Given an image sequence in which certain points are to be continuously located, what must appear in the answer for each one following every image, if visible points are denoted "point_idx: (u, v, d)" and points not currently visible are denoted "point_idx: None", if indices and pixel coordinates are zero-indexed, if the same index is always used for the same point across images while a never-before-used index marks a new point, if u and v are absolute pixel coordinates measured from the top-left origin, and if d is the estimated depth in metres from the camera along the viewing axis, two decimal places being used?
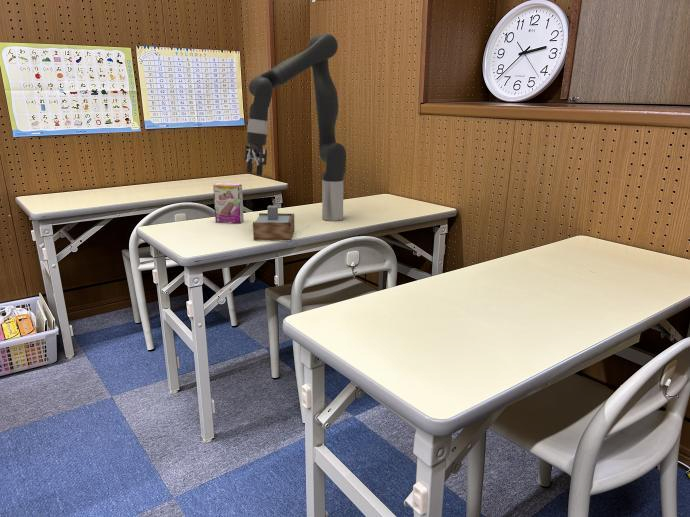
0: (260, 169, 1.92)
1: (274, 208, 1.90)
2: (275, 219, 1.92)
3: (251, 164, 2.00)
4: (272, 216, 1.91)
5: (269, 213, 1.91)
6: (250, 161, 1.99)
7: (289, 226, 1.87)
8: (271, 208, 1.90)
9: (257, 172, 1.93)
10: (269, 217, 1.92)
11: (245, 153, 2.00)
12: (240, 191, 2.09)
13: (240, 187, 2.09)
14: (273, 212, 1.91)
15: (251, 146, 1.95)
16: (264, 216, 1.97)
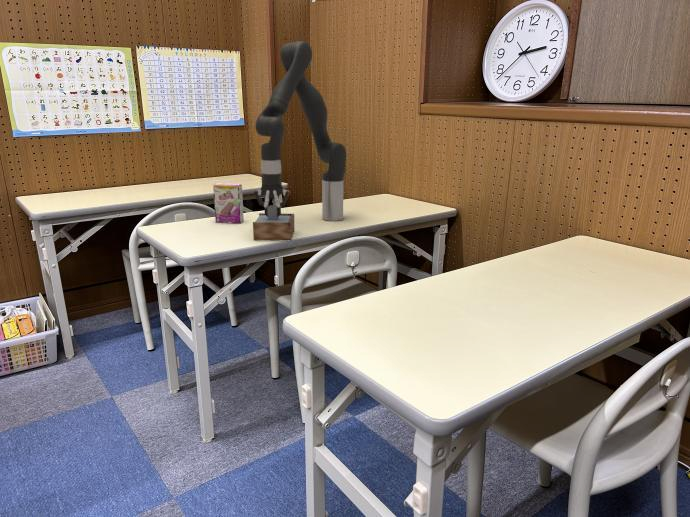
0: (280, 210, 1.92)
1: (274, 208, 1.90)
2: (275, 219, 1.92)
3: None
4: (272, 216, 1.91)
5: (269, 213, 1.91)
6: (267, 204, 1.92)
7: (289, 226, 1.87)
8: (271, 208, 1.90)
9: (278, 214, 1.92)
10: (269, 217, 1.92)
11: (258, 199, 1.90)
12: (240, 191, 2.09)
13: (240, 187, 2.09)
14: (273, 212, 1.91)
15: (266, 187, 1.88)
16: (264, 216, 1.97)
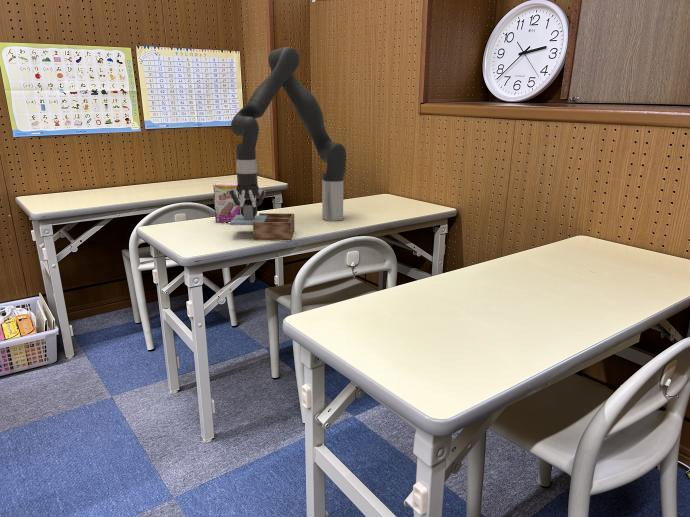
0: (256, 209, 1.92)
1: (250, 208, 1.90)
2: (251, 219, 1.91)
3: None
4: (248, 216, 1.91)
5: (245, 213, 1.91)
6: (243, 204, 1.92)
7: (289, 226, 1.87)
8: (247, 208, 1.90)
9: (254, 213, 1.92)
10: (245, 217, 1.91)
11: (234, 198, 1.90)
12: None
13: None
14: (249, 212, 1.91)
15: (242, 187, 1.88)
16: (241, 216, 1.97)
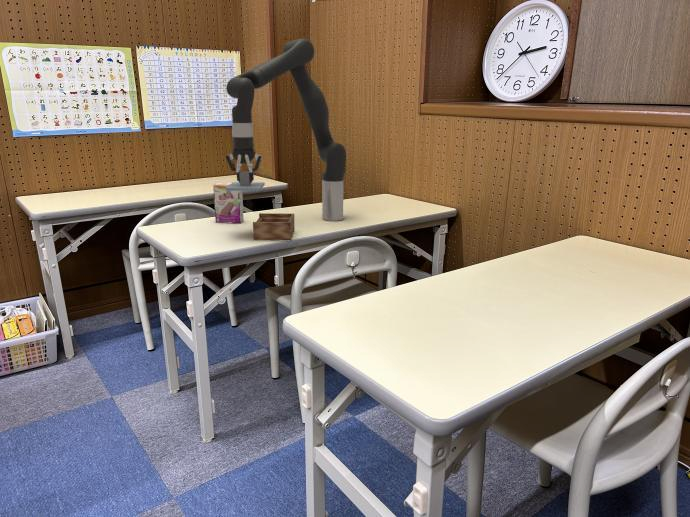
0: (253, 175, 1.88)
1: (246, 173, 1.86)
2: (247, 185, 1.87)
3: None
4: (244, 182, 1.87)
5: (241, 178, 1.87)
6: (239, 169, 1.88)
7: (289, 226, 1.87)
8: (243, 173, 1.86)
9: (251, 179, 1.88)
10: (241, 183, 1.87)
11: (230, 163, 1.86)
12: (240, 191, 2.09)
13: None
14: (245, 177, 1.87)
15: (238, 151, 1.84)
16: (237, 183, 1.93)
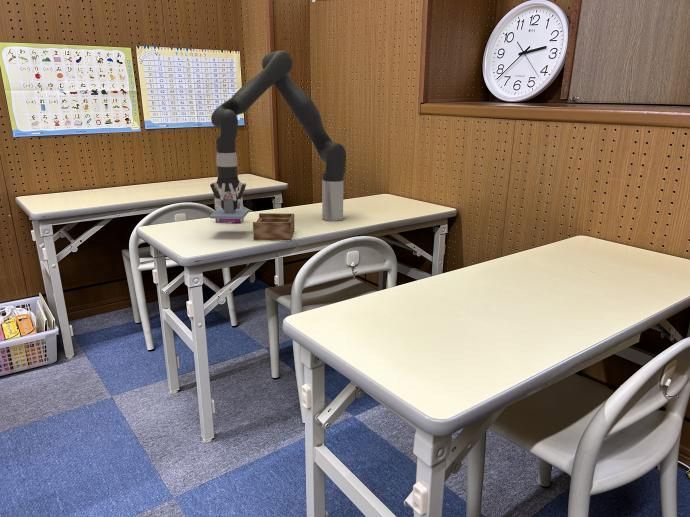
0: (237, 203, 1.91)
1: (230, 201, 1.90)
2: (232, 212, 1.91)
3: None
4: (228, 209, 1.91)
5: (225, 206, 1.90)
6: (224, 197, 1.91)
7: (289, 226, 1.87)
8: (227, 201, 1.90)
9: (235, 207, 1.91)
10: (226, 210, 1.91)
11: (214, 192, 1.89)
12: None
13: None
14: (229, 205, 1.90)
15: (222, 180, 1.88)
16: (222, 209, 1.97)
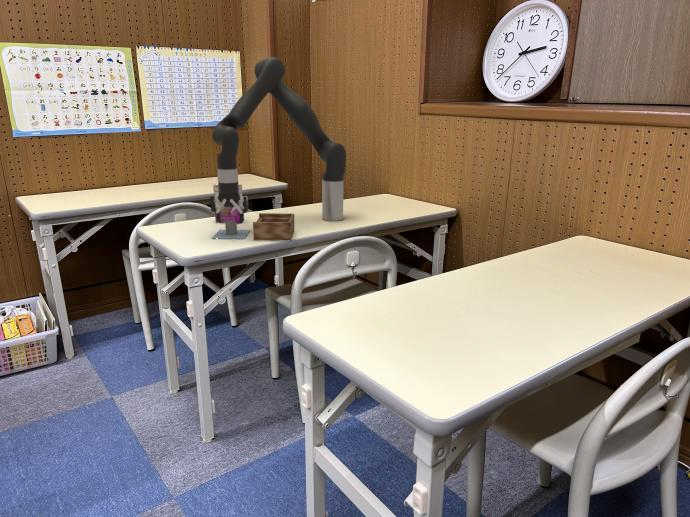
0: (243, 216, 1.93)
1: (232, 223, 1.92)
2: (233, 234, 1.93)
3: (220, 213, 1.93)
4: (230, 231, 1.93)
5: (227, 228, 1.93)
6: (219, 211, 1.93)
7: (289, 226, 1.87)
8: (229, 223, 1.92)
9: (241, 220, 1.93)
10: (227, 232, 1.93)
11: (212, 204, 1.91)
12: (240, 191, 2.09)
13: (240, 187, 2.09)
14: (231, 227, 1.93)
15: (223, 196, 1.90)
16: (224, 230, 1.99)
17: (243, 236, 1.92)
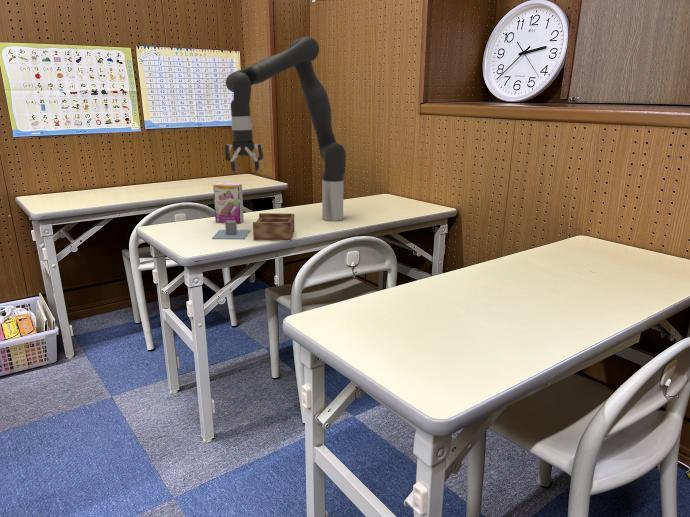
0: (258, 164, 1.94)
1: (232, 223, 1.92)
2: (233, 234, 1.94)
3: None
4: (230, 231, 1.93)
5: (227, 228, 1.93)
6: (234, 160, 1.94)
7: (289, 226, 1.87)
8: (229, 223, 1.92)
9: (256, 168, 1.94)
10: (227, 232, 1.93)
11: (226, 153, 1.92)
12: (240, 191, 2.09)
13: (240, 187, 2.09)
14: (231, 227, 1.93)
15: (238, 144, 1.91)
16: (223, 230, 1.99)
17: (243, 236, 1.92)
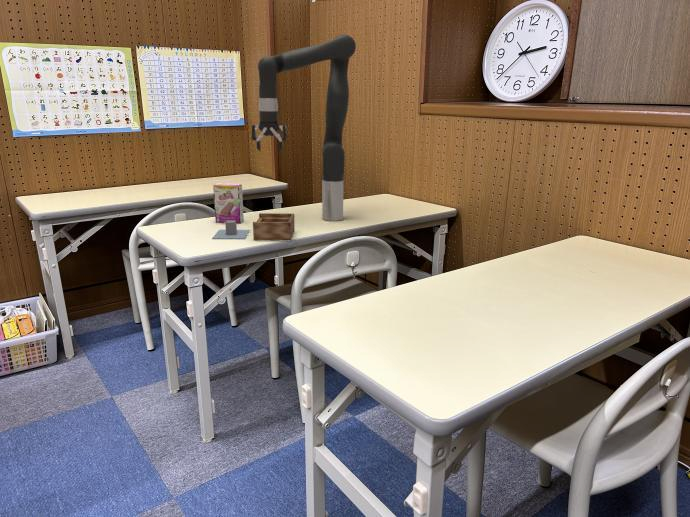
0: (282, 144, 2.06)
1: (232, 223, 1.92)
2: (233, 234, 1.94)
3: (260, 142, 2.06)
4: (230, 231, 1.93)
5: (227, 228, 1.93)
6: (259, 139, 2.06)
7: (289, 226, 1.87)
8: (229, 223, 1.92)
9: (280, 148, 2.06)
10: (227, 232, 1.93)
11: (253, 133, 2.03)
12: (240, 191, 2.09)
13: (240, 187, 2.09)
14: (231, 227, 1.93)
15: (264, 125, 2.03)
16: (223, 230, 1.99)
17: (243, 236, 1.92)
